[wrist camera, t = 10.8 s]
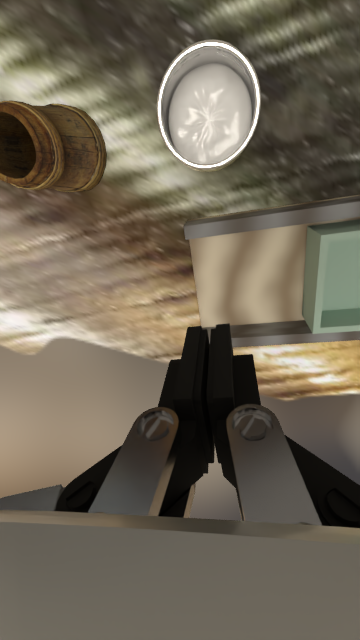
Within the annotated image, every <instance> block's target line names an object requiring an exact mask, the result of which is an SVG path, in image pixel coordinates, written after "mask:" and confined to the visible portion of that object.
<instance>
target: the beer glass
mask: <svg viewBox="0 0 360 640" xmlns="http://www.w3.org/2000/svg"><path fill="white" fill-rule="evenodd" d="M260 108H261V92H260V85H259V81H258V77H257V74H256V72H255V69H254V67H253V65H252V64H251V62H250V60H249V59H248V58H247V56H246V55H245V54H244V53H243V52H242V51H241V50H240V49H238V48H237V47H236V46H234V45H232V44H230V43H228V42H225V41H222V40H215V39H211V40H203V41H199V42H197V43H194V44H192V45H190V46H189V47H187V48H186V49H184V50H183V51H182V52H180V53H179V54H178V55H177V56H176V58H175V59H174V60H173V61H172V62H171V64H170V65H169V67H168V69H167V70H166V72H165V74H164V76H163V79H162V82H161V85H160V88H159V92H158V98H157V120H158V126H159V130H160V133H161V136H162V138H163V140H164V142H165V144H166V146H167V148H168V149H169V150H170V152H171V153H172V154H173V155H174V156H175V157H176V158H177V159H178V160H179V161H180V162H181V163H183V164H184V165H186V166H187V167H189V168H191V169H194V170H197V171H201V172H213V171H218V170H221V169H223V168H225V167H227V166H229V165H231V164H232V163H233V162H235V161H236V160H237V159H238V158H239V157H240V156H241V154H242V153H243V152H244V151H245V149H246V148H247V146H248V145H249V143H250V141H251V139H252V137H253V134H254V132H255V129H256V127H257V124H258V120H259V115H260Z"/></svg>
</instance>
